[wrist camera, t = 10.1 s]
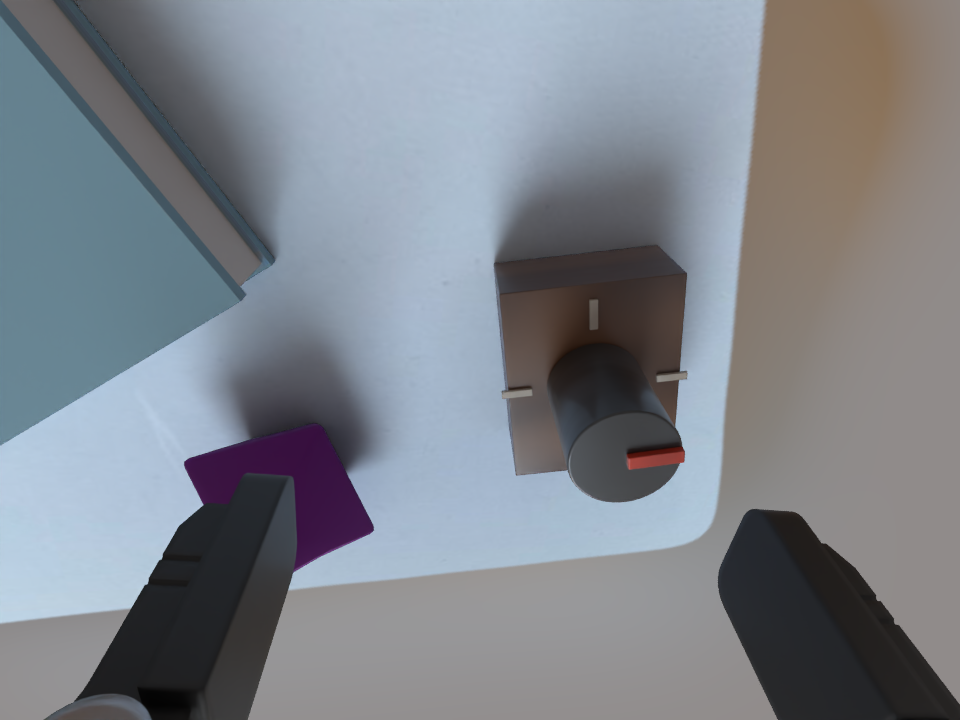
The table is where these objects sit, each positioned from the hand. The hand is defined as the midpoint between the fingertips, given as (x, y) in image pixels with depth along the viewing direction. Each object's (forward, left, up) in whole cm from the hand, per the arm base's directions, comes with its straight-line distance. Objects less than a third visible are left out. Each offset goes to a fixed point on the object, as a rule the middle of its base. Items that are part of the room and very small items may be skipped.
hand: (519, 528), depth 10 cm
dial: (+3, +8, -15) cm, 17 cm away
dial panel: (+3, +8, -19) cm, 21 cm away
